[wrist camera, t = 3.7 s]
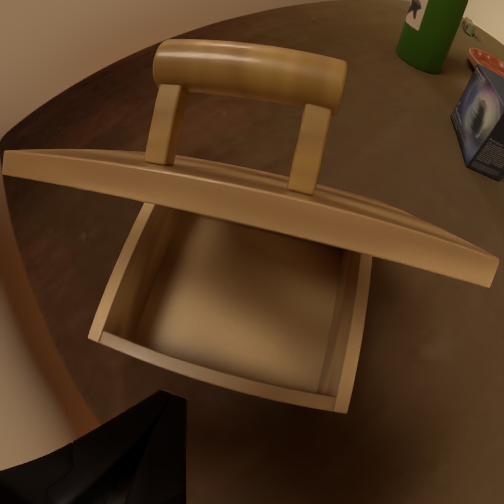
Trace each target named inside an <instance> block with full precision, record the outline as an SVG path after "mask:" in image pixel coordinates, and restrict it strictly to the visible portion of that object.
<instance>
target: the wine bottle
mask: <svg viewBox="0 0 504 504" xmlns="http://www.w3.org/2000/svg"><path fill="white" fill-rule="evenodd" d="M467 3H468V0H411V4H410V7H409V10H408V14H407V17H406V21H405V24H404V27H403V30H402V33H401V37H400V40H399V43H398V46H397V54H398V55H399V57H400V58H402V59H403V60H404V61H405V62H407V63H408V64H410V65H412V66H413V67H415V68H417V69H419V70H422V71H424V72H428V73H432V74H437V73H438V72H439V71H440V70H441V68H442V66H443V63H444V61H445V59H446V56H447V54H448V52H449V49H450V47H451V44H452V42H453V40H454V37H455V35H456V32H457V29H458V27H459V24H460V22H461V19H462V16H463V14H464V11H465V8H466V6H467Z"/></svg>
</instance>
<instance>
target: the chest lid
mask: <svg viewBox="0 0 504 504" xmlns="http://www.w3.org/2000/svg"><path fill="white" fill-rule="evenodd" d="M346 75H347V63H346V62H345V61H343V60H339V59H335V58H331V57H327V56H322V55H318V54H313V53H308V52H303V51H298V50H292V49H287V48H281V47H274V46H267V45H259V44H251V43H242V42H231V41H217V40H194V39H169V40H166V41H164V42H163V43H162V44H161V45H160V46H159V48H158V49H157V52H156V54H155V57H154V62H153V77H154V81H155V83H156V85H157V86H158V87H159V91H158V95H157V99H156V104H155V108H154V113H153V117H152V122H151V127H150V132H149V137H148V143H147V148H146V152H136V151H117V150H87V149H37V150H9V151H5V152H4V158H3V169H2V174H3V175H8V176H14V177H19V178H25V179H30V180H36V181H41V182H47V183H52V184H57V185H62V186H67V187H73V188H78V189H83V190H88V191H93V192H98V193H103V194H108V195H112V196H117V197H122V198H127V199H132V200H136V201H141V202H146V203H151V204H155V205H160V206H165V207H169V208H174V209H178V210H183V211H187V212H192V213H196V214H201V215H205V216H210V217H214V218H218V219H223V220H227V221H231V222H236V223H240V224H244V225H248V226H253V227H257V228H261V229H265V230H270V231H274V232H278V233H282V234H286V235H290V236H294V237H298V238H302V239H307V240H311V241H315V242H319V243H323V244H327V245H331V246H334V247H338V248H342V249H346V250H350V251H354V252H358V253H362V254H366V255H369V256H373V257H377V258H381V259H385V260H388V261H392V262H396V263H400V264H403V265H407V266H411V267H414V268H418V269H422V270H425V271H429V272H433V273H436V274H440V275H443V276H447V277H450V278H454V279H458V280H461V281H465V282H468V283H471V284H475V285H478V286H482V287H485V288H490V286H491V283H492V281H493V278H494V275H495V272H496V270H497V267H498V264H499V259H498V258H497V257H495V256H493V255H491V254H489V253H488V252H486V251H484V250H482V249H480V248H478V247H476V246H474V245H473V244H471V243H469V242H467V241H465V240H463V239H461V238H459V237H457V236H455V235H453V234H451V233H449V232H447V231H445V230H443V229H441V228H439V227H436V226H434V225H432V224H430V223H428V222H426V221H424V220H422V219H419V218H417V217H415V216H413V215H411V214H408V213H406V212H404V211H402V210H399V209H397V208H395V207H392V206H390V205H388V204H385V203H383V202H381V201H378V200H375V199H371V198H368V197H364V196H361V195H357V194H353V193H350V192H346V191H342V190H339V189H335V188H331V187H327V186H323V185H319V184H317V180H318V175H319V171H320V166H321V162H322V157H323V153H324V148H325V144H326V139H327V134H328V129H329V125H330V120H331V116H335V115H336V114H337V112H338V110H339V107H340V103H341V100H342V95H343V91H344V86H345V81H346ZM189 92H198V93H208V94H217V95H225V96H232V97H239V98H246V99H253V100H259V101H265V102H270V103H276V104H281V105H286V106H291V107H296V108H300V109H304V112H303V116H302V121H301V126H300V130H299V135H298V140H297V144H296V149H295V154H294V158H293V163H292V167H291V172H290V176H289V177H286V176H282V175H277V174H273V173H268V172H264V171H259V170H254V169H250V168H245V167H240V166H235V165H229V164H224V163H219V162H213V161H208V160H202V159H196V158H190V157H184V156H178V155H176V150H177V145H178V140H179V135H180V130H181V125H182V120H183V116H184V111H185V107H186V102H187V98H188V94H189Z"/></svg>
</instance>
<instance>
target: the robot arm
mask: <svg viewBox="0 0 504 504" xmlns="http://www.w3.org/2000/svg"><path fill="white" fill-rule="evenodd" d="M187 401H188V400H187V398H186V397H183V396H180V395H177V394H175V395H174V394H173V393H172V392H169V391H166V390H163V389H161V390H158V391H157V392H155V393H154V394H152V395H151V396H149V397H147V398H146V399H144V400H143V401H141V402H139V403H138V404H136V405H135V406H133V407H131V408H130V409H128V410H126V411H125V412H123V413H121V414H120V415H118V416H116V417H115V418H113V419H111V420H110V421H108V422H106V423H105V424H103V425H101V426H99V427H98V428H96V429H94V430H93V431H91V432H89V433H87V434H86V435H84V436H82V437H80V438H78V439H77V440H75V441H73V443H69V444H67V445H66V446H64V447H62V448H60V449H58V450H56V451H54V452H52V453H50V454H48V455H45V456H43V457H40V458H38V459H35V460H32V461H29V462H27V463H24V464H21V465H18V466H15V467H12V468H8V469H5V470H2V471H0V504H186V431H187Z"/></svg>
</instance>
